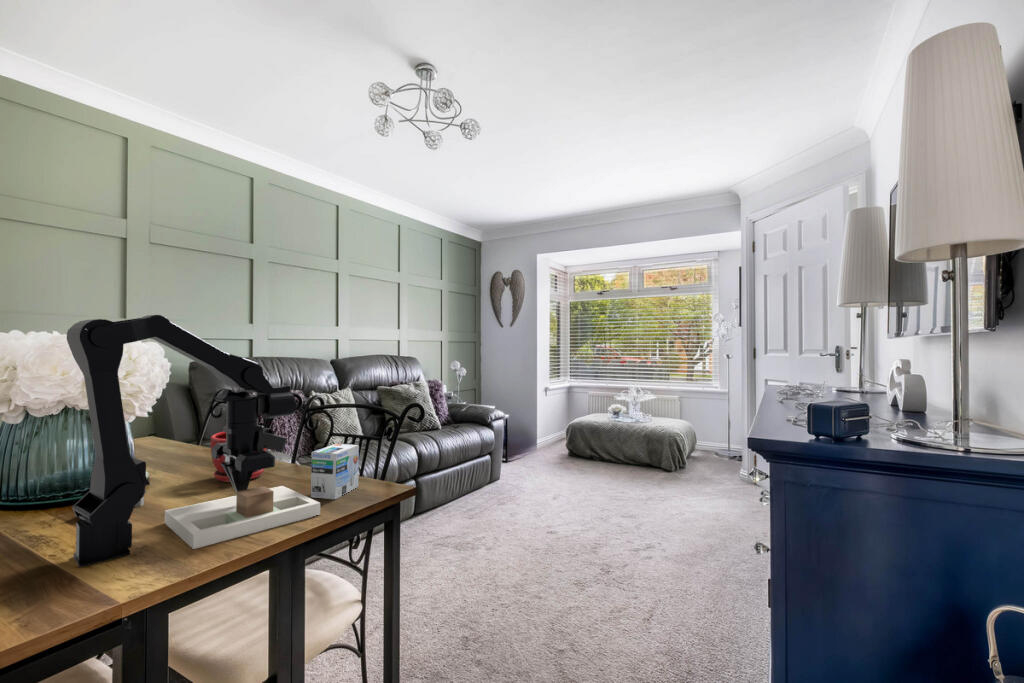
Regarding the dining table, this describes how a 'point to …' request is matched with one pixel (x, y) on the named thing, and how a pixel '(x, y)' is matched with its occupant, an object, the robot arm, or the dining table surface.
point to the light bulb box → (334, 471)
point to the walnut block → (254, 501)
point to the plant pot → (220, 472)
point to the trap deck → (236, 517)
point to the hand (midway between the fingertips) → (241, 496)
